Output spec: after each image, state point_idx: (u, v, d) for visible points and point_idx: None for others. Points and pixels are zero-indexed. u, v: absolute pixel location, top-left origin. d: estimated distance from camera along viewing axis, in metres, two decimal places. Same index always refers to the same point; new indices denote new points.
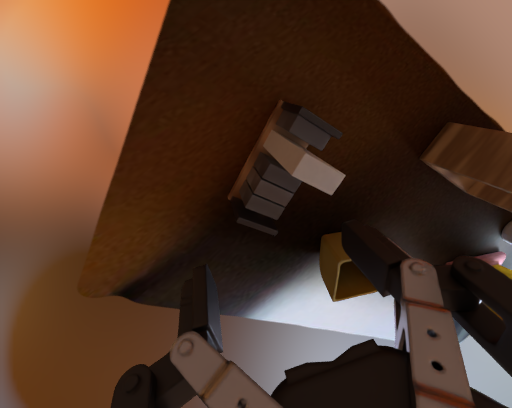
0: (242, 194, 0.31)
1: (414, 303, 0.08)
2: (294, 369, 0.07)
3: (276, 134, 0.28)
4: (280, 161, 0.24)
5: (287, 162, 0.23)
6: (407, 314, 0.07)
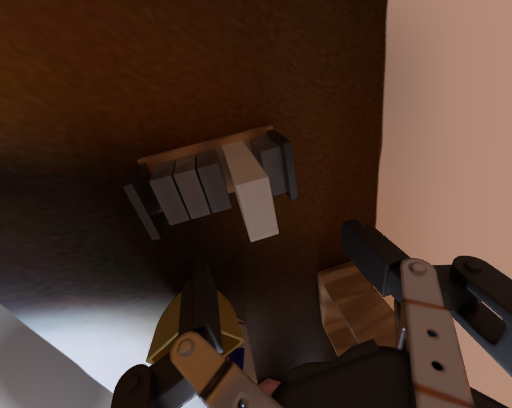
0: (158, 168, 0.23)
1: (414, 303, 0.08)
2: (294, 369, 0.07)
3: (244, 146, 0.24)
4: (231, 167, 0.19)
5: (239, 172, 0.18)
6: (407, 314, 0.07)
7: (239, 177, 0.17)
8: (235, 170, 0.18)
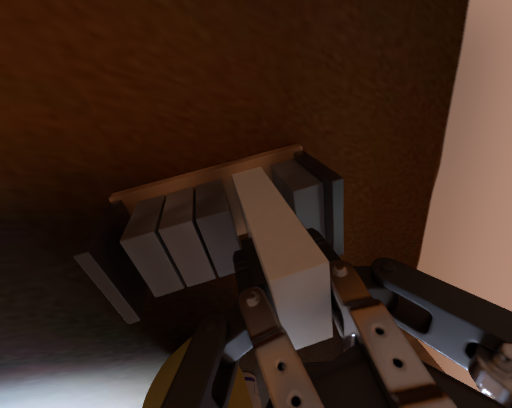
0: (138, 212, 0.16)
1: (354, 306, 0.08)
2: None
3: (266, 178, 0.16)
4: (253, 225, 0.12)
5: (270, 241, 0.10)
6: (354, 321, 0.08)
7: (272, 256, 0.10)
8: (261, 234, 0.11)
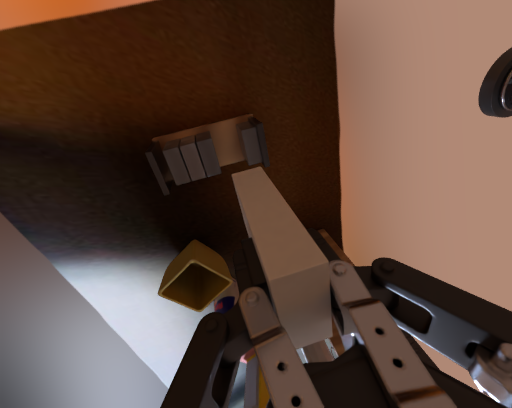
0: (168, 144, 0.32)
1: (354, 306, 0.08)
2: None
3: (266, 178, 0.16)
4: (253, 225, 0.12)
5: (269, 241, 0.10)
6: (354, 321, 0.08)
7: (272, 255, 0.10)
8: (261, 234, 0.11)
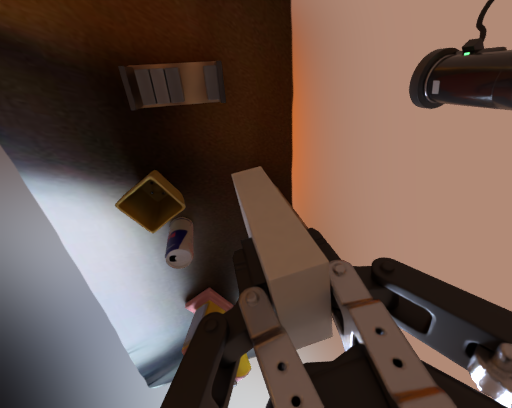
0: None
1: (354, 306, 0.08)
2: None
3: (266, 178, 0.16)
4: (253, 225, 0.12)
5: (269, 241, 0.10)
6: (354, 321, 0.08)
7: (271, 255, 0.10)
8: (260, 233, 0.11)
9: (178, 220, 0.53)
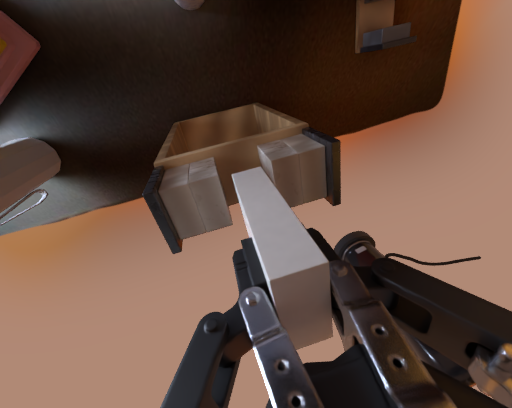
0: None
1: (354, 306, 0.08)
2: None
3: (266, 178, 0.16)
4: (253, 225, 0.12)
5: (270, 241, 0.10)
6: (354, 321, 0.08)
7: (272, 255, 0.10)
8: (261, 234, 0.11)
9: None
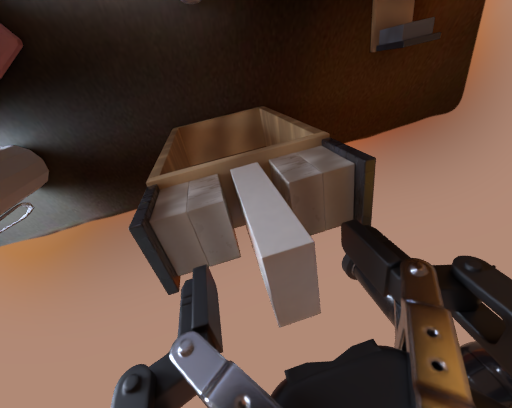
0: None
1: (414, 303, 0.08)
2: (294, 369, 0.07)
3: (262, 172, 0.17)
4: (249, 213, 0.13)
5: (263, 226, 0.12)
6: (407, 314, 0.07)
7: (264, 237, 0.11)
8: (255, 220, 0.12)
9: None
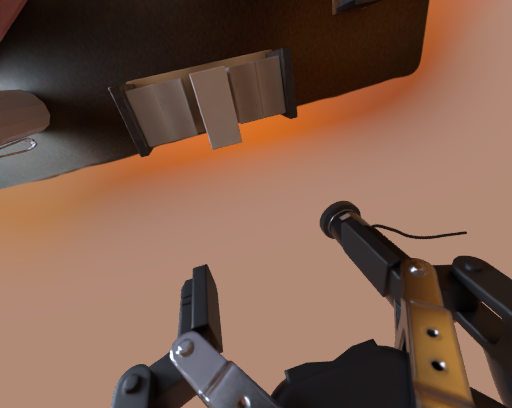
0: None
1: (414, 303, 0.08)
2: (294, 369, 0.07)
3: None
4: None
5: None
6: (407, 314, 0.07)
7: None
8: None
9: None
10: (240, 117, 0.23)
